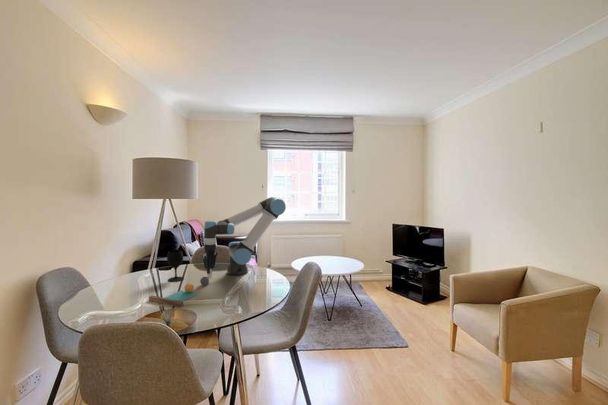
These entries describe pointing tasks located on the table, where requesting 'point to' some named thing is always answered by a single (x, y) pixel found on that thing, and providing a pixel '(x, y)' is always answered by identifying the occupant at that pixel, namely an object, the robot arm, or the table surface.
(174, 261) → the wine glass
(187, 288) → the orange ball
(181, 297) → the teal mark
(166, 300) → the stopper wall
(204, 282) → the charcoal ball
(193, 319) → the table surface
